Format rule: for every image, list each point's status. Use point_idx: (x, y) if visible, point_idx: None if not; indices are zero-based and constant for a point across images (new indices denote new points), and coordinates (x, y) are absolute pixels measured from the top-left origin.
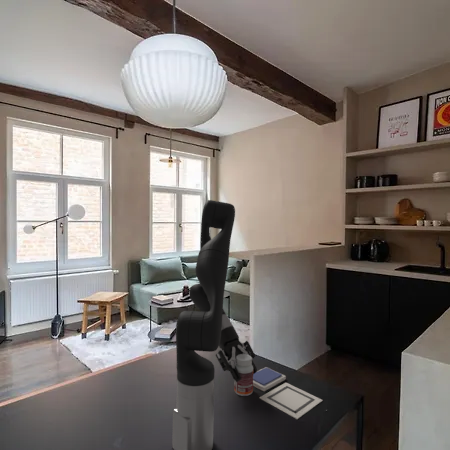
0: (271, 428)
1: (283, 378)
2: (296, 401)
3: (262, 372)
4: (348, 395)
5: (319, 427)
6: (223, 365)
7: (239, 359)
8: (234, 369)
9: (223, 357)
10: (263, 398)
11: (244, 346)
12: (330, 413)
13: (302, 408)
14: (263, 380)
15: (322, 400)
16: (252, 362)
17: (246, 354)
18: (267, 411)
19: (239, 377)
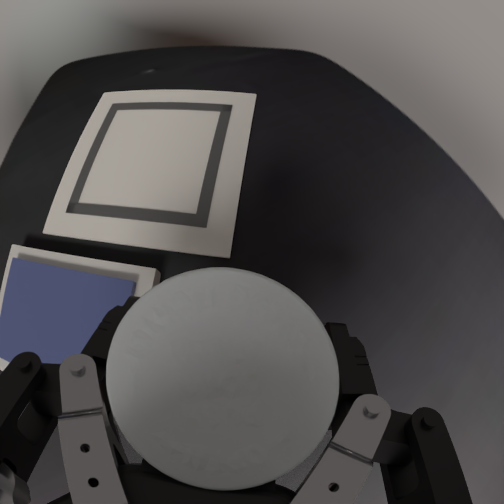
0: (358, 133)
1: (26, 248)
2: (155, 132)
3: (37, 351)
4: (54, 78)
5: (244, 56)
6: (406, 478)
7: (326, 389)
8: (358, 390)
9: (456, 502)
10: (222, 238)
11: (9, 492)
12: (161, 60)
13: (187, 103)
14: (99, 303)
15: (105, 93)
16: (101, 344)
17: (114, 405)
18: (292, 179)
19: (341, 328)
